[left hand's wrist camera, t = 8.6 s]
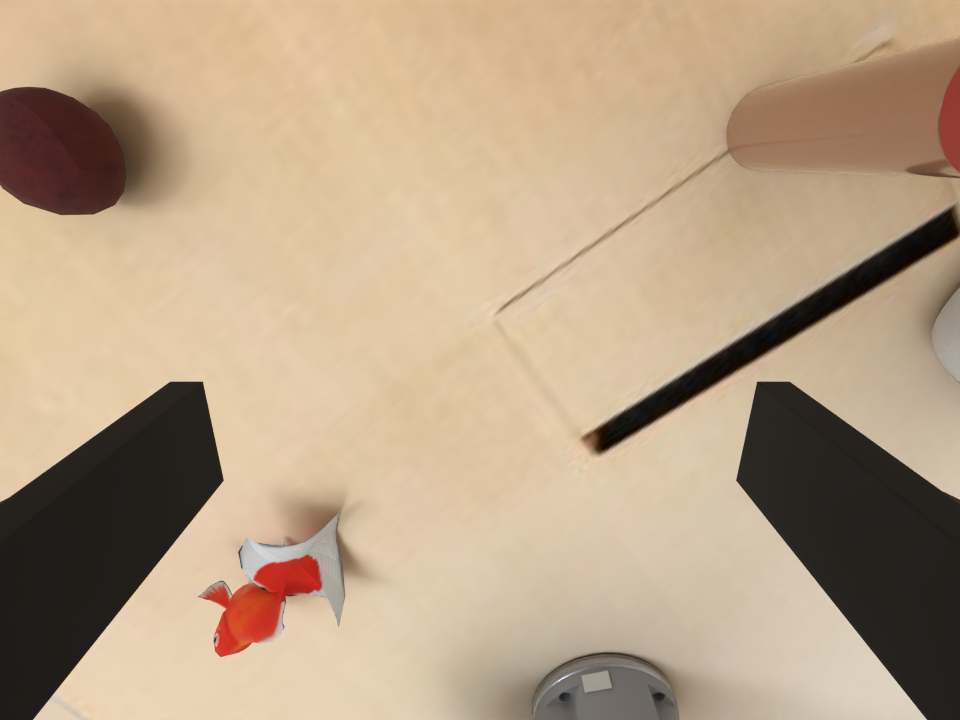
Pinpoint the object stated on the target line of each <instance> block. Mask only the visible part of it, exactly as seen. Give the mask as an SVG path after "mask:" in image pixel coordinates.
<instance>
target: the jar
mask: <svg viewBox="0 0 960 720" xmlns="http://www.w3.org/2000/svg"><path fill="white" fill-rule="evenodd" d="M959 68H960V36H958V37H954V38H950V39H947V40H943V41H939V42H935V43H931V44H927V45H923V46H919V47H915V48H911V49H908V50H904V51H900V52H896V53H892V54H888V55H884V56H880V57H876V58H872V59H869V60H865V61H861V62H857V63H853V64H849V65H845V66H841V67H837V68H833V69H830V70H826V71H822V72H818V73H814V74H810V75H806V76H802V77H798V78H794V79H791V80H787V81H783V82H779V83H775V84H771V85H767V86H764V87H760V88H758V89H756V90H754V91H752V92H751V93H749V94H748V95H747V96H745V97H744V98H743V99H742V100H741V101H740V103H739V104H738V105H737V106H736V108H735V110H734V111H733V113H732V115H731V117H730V120H729V123H728V128H727V144H728V148H729V151H730V153H731V155H732V157H733V158H734V159H735V160H736V161H737V162H738V163H739V164H740V165H742V166H743V167H745V168H748V169H751V170H762V171H787V172H812V173H836V174H861V175H886V176H911V177H936V178H960V173H959V172H958V171H956V170H955V169H954V168H953V166H952V165H951V164H950V163H949V161H948V160H947V158H946V157H945V154H944V152H943V149H942V145H941V141H940V133H939V120H940V114H941V108H942V104H943V101H944V97H945V95H946V92H947V90H948V87H949V85H950V83H951V81H952V79H953V77H954V75H955V74H956V72H957V71H958V69H959Z"/></svg>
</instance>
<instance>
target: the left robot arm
mask: <svg viewBox="0 0 960 720" xmlns="http://www.w3.org/2000/svg"><path fill="white" fill-rule="evenodd" d="M223 481H224V480H223V475H222V470H221V465H220V461H219V456H218V451H217V447H216V442H215V437H214V432H213V428H212V423H211V418H210V414H209V409H208V404H207V399H206V395H205V390H204V385H203V382H169V383H168V384H167V385H165V386H164V387H162V388H161V389H160V390H158V391H157V392H155V393H154V394H153V395H151V396H150V397H149V398H147V399H146V400H144V401H143V402H142V403H140V404H139V405H137V406H136V407H135V408H133V409H132V410H130V411H129V412H128V413H126V414H125V415H123V416H122V417H121V418H119V419H118V420H117V421H115V422H114V423H112V424H111V425H110V426H108V427H107V428H105V429H104V430H103V431H101V432H100V433H98V434H97V435H96V436H94V437H93V438H92V439H90V440H89V441H87V442H86V443H85V444H83V445H82V446H80V447H79V448H78V449H76V450H75V451H73V452H72V453H71V454H69V455H68V456H66V457H65V458H64V459H62V460H61V461H60V462H58V463H57V464H55V465H54V466H53V467H51V468H50V469H48V470H47V471H46V472H44V473H43V474H41V475H40V476H39V477H37V478H36V479H34V480H33V481H32V482H30V483H29V484H28V485H26V486H25V487H23V488H22V489H21V490H19V491H18V492H16V493H15V494H14V495H12V496H11V497H9V498H8V499H5V500H3V501H1V502H0V720H33V719H34V718H35V716H36V715H37V714H38V713H39V711H40V710H41V709H42V708H43V706H44V705H45V704H46V703H47V701H48V700H49V699H50V698H51V696H52V695H53V694H54V693H55V691H56V690H57V689H58V688H59V686H60V685H61V684H62V683H63V681H64V680H65V679H66V678H67V676H68V675H69V674H70V673H71V671H72V670H73V669H74V668H75V666H76V665H77V664H78V663H79V661H80V660H81V659H82V658H83V656H84V655H85V654H86V652H87V651H88V650H89V649H90V647H91V646H92V645H93V644H94V642H95V641H96V640H97V639H98V637H99V636H100V635H101V634H102V632H103V631H104V630H105V629H106V627H107V626H108V625H109V624H110V622H111V621H112V620H113V619H114V617H115V616H116V615H117V614H118V612H119V611H120V610H121V609H122V607H123V606H124V605H125V604H126V602H127V601H128V600H129V599H130V597H131V596H132V595H133V594H134V592H135V591H136V590H137V589H138V587H139V586H140V585H141V584H142V582H143V581H144V580H145V579H146V577H147V576H148V575H149V574H150V572H151V571H152V570H153V568H154V567H155V566H156V565H157V563H158V562H159V561H160V560H161V558H162V557H163V556H164V555H165V553H166V552H167V551H168V550H169V548H170V547H171V546H172V545H173V543H174V542H175V541H176V540H177V538H178V537H179V536H180V535H181V533H182V532H183V531H184V530H185V528H186V527H187V526H188V525H189V523H190V522H191V521H192V520H193V518H194V517H195V516H196V515H197V513H198V512H199V511H200V510H201V508H202V507H203V506H204V505H205V503H206V502H207V501H208V500H209V498H210V497H211V496H212V495H213V493H214V492H215V491H216V490H217V488H218V487H219V486H220V484H221V483H222V482H223ZM736 481H737V482H738V483H739V484H740V486H741V487H742V488H743V490H744V491H745V492H746V493H747V495H748V496H749V497H750V498H751V500H752V501H753V502H754V503H755V505H756V506H757V507H758V508H759V510H760V511H761V512H762V513H763V515H764V516H765V517H766V518H767V520H768V521H769V522H770V523H771V525H772V526H773V527H774V528H775V530H776V531H777V532H778V533H779V535H780V536H781V537H782V538H783V540H784V541H785V542H786V543H787V545H788V546H789V547H790V548H791V550H792V551H793V552H794V553H795V555H796V556H797V557H798V558H799V560H800V561H801V562H802V563H803V565H804V566H805V567H806V568H807V570H808V571H809V572H810V574H811V575H812V576H813V577H814V579H815V580H816V581H817V582H818V584H819V585H820V586H821V587H822V589H823V590H824V591H825V592H826V594H827V595H828V596H829V597H830V599H831V600H832V601H833V602H834V604H835V605H836V606H837V607H838V609H839V610H840V611H841V612H842V614H843V615H844V616H845V617H846V619H847V620H848V621H849V622H850V624H851V625H852V626H853V627H854V629H855V630H856V631H857V632H858V634H859V635H860V636H861V637H862V639H863V640H864V641H865V642H866V644H867V645H868V646H869V647H870V649H871V650H872V651H873V652H874V654H875V655H876V656H877V658H878V659H879V660H880V661H881V663H882V664H883V665H884V666H885V668H886V669H887V670H888V671H889V673H890V674H891V675H892V676H893V678H894V679H895V680H896V681H897V683H898V684H899V685H900V686H901V688H902V689H903V690H904V691H905V693H906V694H907V695H908V696H909V698H910V699H911V700H912V701H913V703H914V704H915V705H916V706H917V708H918V709H919V710H920V711H921V713H922V714H923V715H924V716H925V718H926V719H927V720H960V500H959V499H957V498H955V497H953V496H951V495H949V494H947V493H945V492H942V491H941V490H939V489H938V488H937V487H935V486H934V485H932V484H931V483H930V482H928V481H927V480H926V479H924V478H923V477H921V476H920V475H919V474H917V473H916V472H914V471H913V470H912V469H910V468H909V467H907V466H906V465H905V464H903V463H902V462H900V461H899V460H898V459H896V458H895V457H894V456H892V455H891V454H889V453H888V452H887V451H885V450H884V449H882V448H881V447H880V446H878V445H877V444H875V443H874V442H873V441H871V440H870V439H868V438H867V437H866V436H864V435H863V434H862V433H860V432H859V431H857V430H856V429H855V428H853V427H852V426H850V425H849V424H848V423H846V422H845V421H843V420H842V419H841V418H839V417H838V416H837V415H835V414H834V413H832V412H831V411H830V410H828V409H827V408H825V407H824V406H823V405H821V404H820V403H818V402H817V401H816V400H814V399H813V398H811V397H810V396H809V395H807V394H806V393H805V392H803V391H802V390H800V389H799V388H798V387H796V386H795V385H793V384H792V383H791V382H757V385H756V390H755V395H754V399H753V404H752V409H751V414H750V418H749V423H748V428H747V432H746V437H745V442H744V447H743V451H742V456H741V461H740V465H739V470H738V475H737V480H736ZM532 707H533V720H679V713H678V708H677V702H676V699H675V696H674V694H673V691H672V688H671V685H670V683H669V681H668V680H667V678H666V677H665V676H664V675H663V674H662V673H661V672H660V671H659V670H658V669H657V668H655V667H654V666H652V665H651V664H649V663H647V662H645V661H643V660H640V659H637V658H634V657H630V656H625V655H617V654H601V655H593V656H587V657H583V658H579V659H576V660H573V661H571V662H569V663H566V664H564V665H562V666H561V667H559V668H557V669H556V670H554V671H553V672H552V673H550V674H549V675H548V676H547V677H546V678H545V679H544V680H543V681H542V683H541V684H540V685H539V687H538V689H537V690H536V693H535V695H534V699H533V705H532Z"/></svg>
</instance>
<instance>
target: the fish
mask: <svg viewBox="0 0 960 720" xmlns="http://www.w3.org/2000/svg"><path fill="white" fill-rule="evenodd" d="M339 514H340V512H339V513H338V514H337V515H335V516H334V518H333V519H332V520H331V521H330V522H329V523H328V524H327V525H326V526H325V527H324V528H323V529H322V530H320V531H319V532H318V533H316V534H315V535H314V536H312V537H311V538H309V539H308V540H306V541H305V542H304V543H299V544H294V545H290V546H283V545H284V539H283V541H282V544H281V545H268V544H261V543H256V542H254V541H252V540H250V539H247V538H246V540H245V542H244V543H243V545H242V547H241V549H240V550H239V557H240V563H241V568H242V569H243V571H244V572H245V574H246V575H247V576H248V577H249V578H250V580H249V582H248V584H246V585H244V586H242V587H241V588H240V589H238V590H237V591H236V592H235V593H234V594H233V595H232V593H231V591H230V589H229V588H228V586H227V585H226V583H225V582H224V581H219V582H217V583H215V584H213V585H211V586H210V587H209V588H208V589H207V590H205V591H204V592H203V593H202V594H201V595H200V596H199V597H201V598H203V599H206V600H211V601H213V602H216V603H218V604H219V605H221V606H223V607H224V608H226V611H224V612H223V614H222V617H221V619H220V622H219V625H218V627H217V629H216V632H215V635H214V646H215V652H216V653H217V654H218V655H219V656H220V657H222V656H226V655H231V654H235V653H238V652H241V651H243V650H244V649H246V648H247V647H248V646H249V645H250V644H251V643H252V642H254V643H255V642H256V643H267V642H270V641H273V640H274V639H275V638H277V637H278V636H279V635H280V633H281V632H282V631H283V629H284V625H283V622H282V618H283V613H284V608H285V604H286V599H285V596H295V595H303V594H310V595H315V596H323V597H324V598H325V599H326V600H327V601H328V602H329V603H330V605H331V607H332V609H333V611H334V613H335V616H336V619H337V622H338V627H339V623H340V618H341V614H342V609H343V604H344V599H345V589H344V577H343V566H342V561H341V556H340V551H339V546H338V540H337V534H336V529H337V524H338V518H339Z"/></svg>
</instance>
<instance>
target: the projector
mask: <svg viewBox="0 0 960 720" xmlns="http://www.w3.org/2000/svg"><path fill="white" fill-rule="evenodd" d="M932 344H933V348H934V351H935V354H936V356H937V359H938V360H939V362H940V363H941V365H942V366H943V367H944V368H945V369H946V370H947V371H948V372H949V373H950V374H951V375H952V376H953V377H954V378H955V379H956V380H957V381H958V382H959V383H960V287H959V288H958V289H957V291H956V292H955V293H954V294H953V295H952V297H951V298H950V299H949V301H948V302H947V303H946V304H945V306H944V307H943V309H942V310H941V312H940V314H939V315H938V317H937V319H936V321H935V323H934V326H933V330H932Z"/></svg>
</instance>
